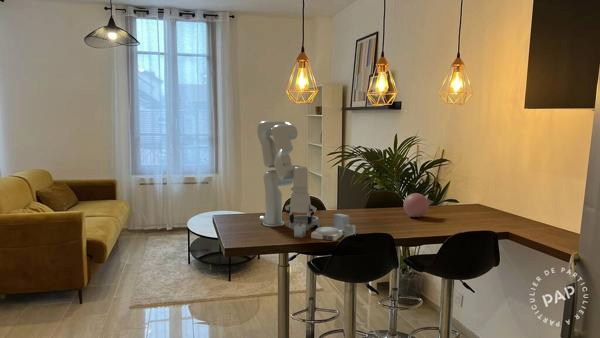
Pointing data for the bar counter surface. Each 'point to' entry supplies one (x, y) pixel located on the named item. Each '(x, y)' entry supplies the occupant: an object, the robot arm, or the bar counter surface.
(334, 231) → the scale
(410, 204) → the piggy bank
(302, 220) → the dog bowl
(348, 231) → the spacer
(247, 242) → the bar counter surface
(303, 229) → the grey block with knob
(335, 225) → the medicine box
